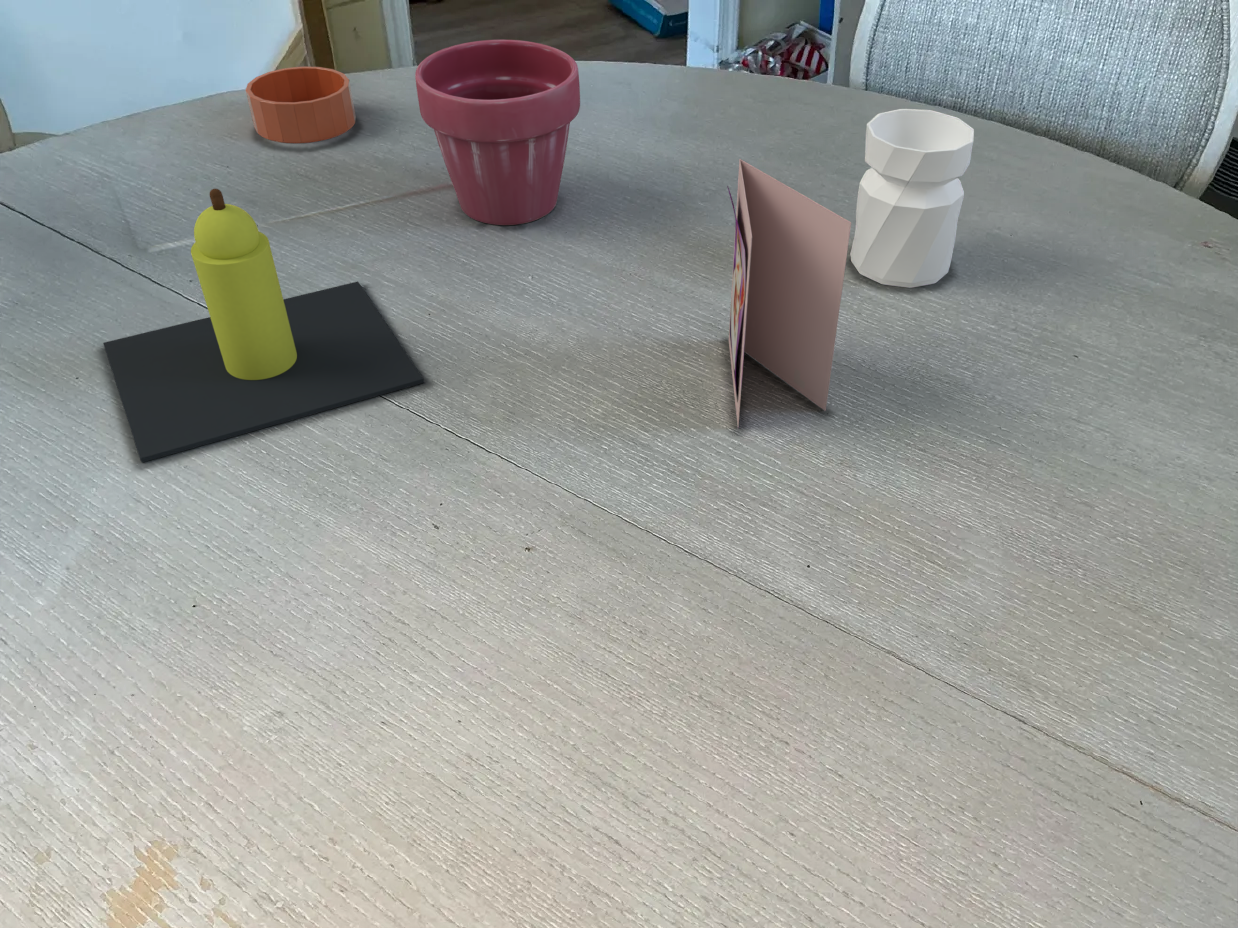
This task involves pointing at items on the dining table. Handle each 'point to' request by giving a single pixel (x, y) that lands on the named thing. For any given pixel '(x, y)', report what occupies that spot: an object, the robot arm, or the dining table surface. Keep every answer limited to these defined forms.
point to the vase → (910, 196)
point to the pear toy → (242, 292)
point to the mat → (228, 406)
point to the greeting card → (785, 284)
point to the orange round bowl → (301, 104)
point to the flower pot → (501, 124)
